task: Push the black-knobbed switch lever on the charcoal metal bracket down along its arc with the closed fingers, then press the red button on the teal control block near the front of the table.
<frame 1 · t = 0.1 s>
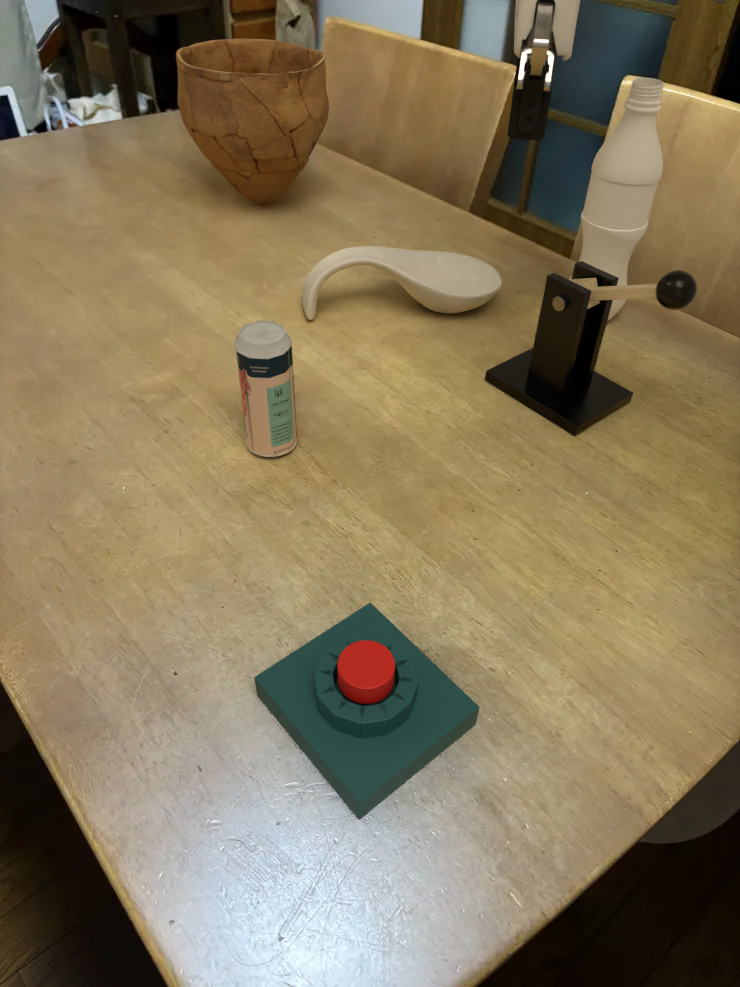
hand: (526, 121, 70), 23 cm above the table, tool pointing down, fingers open, 9 cm apart
water bottle: (590, 313, 90), on the table
beer can: (272, 446, 71), on the table
button: (366, 671, 47), point 4 cm above the table, slide at 0.1 cm
button block: (364, 709, 50), on the table
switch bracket: (556, 391, 78), on the table
switch lever: (625, 292, 66), point 13 cm above the table, hinge at 25.0°
spoon rest: (402, 307, 90), on the table
bowl: (261, 203, 112), on the table
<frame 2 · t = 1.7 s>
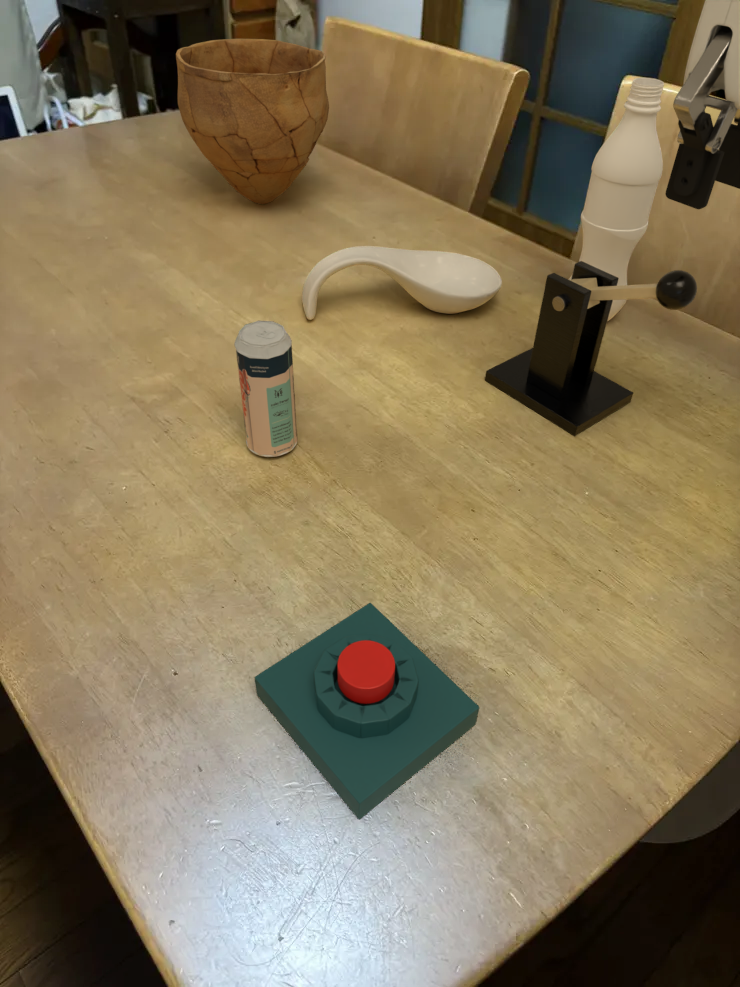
hand: (708, 190, 57), 23 cm above the table, tool pointing down, fingers open, 5 cm apart
nothing on the table moved.
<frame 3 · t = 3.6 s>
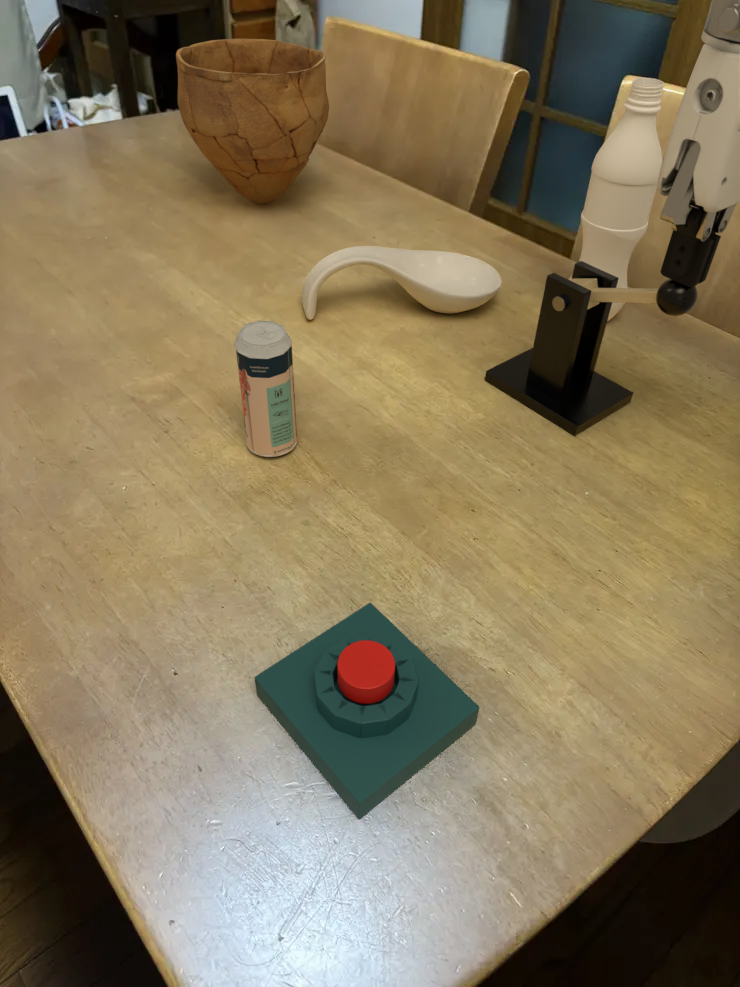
hand: (681, 278, 62), 16 cm above the table, tool pointing down, fingers closed
switch lever: (625, 295, 66), point 13 cm above the table, hinge at 21.9°, touching gripper
everything else where it was.
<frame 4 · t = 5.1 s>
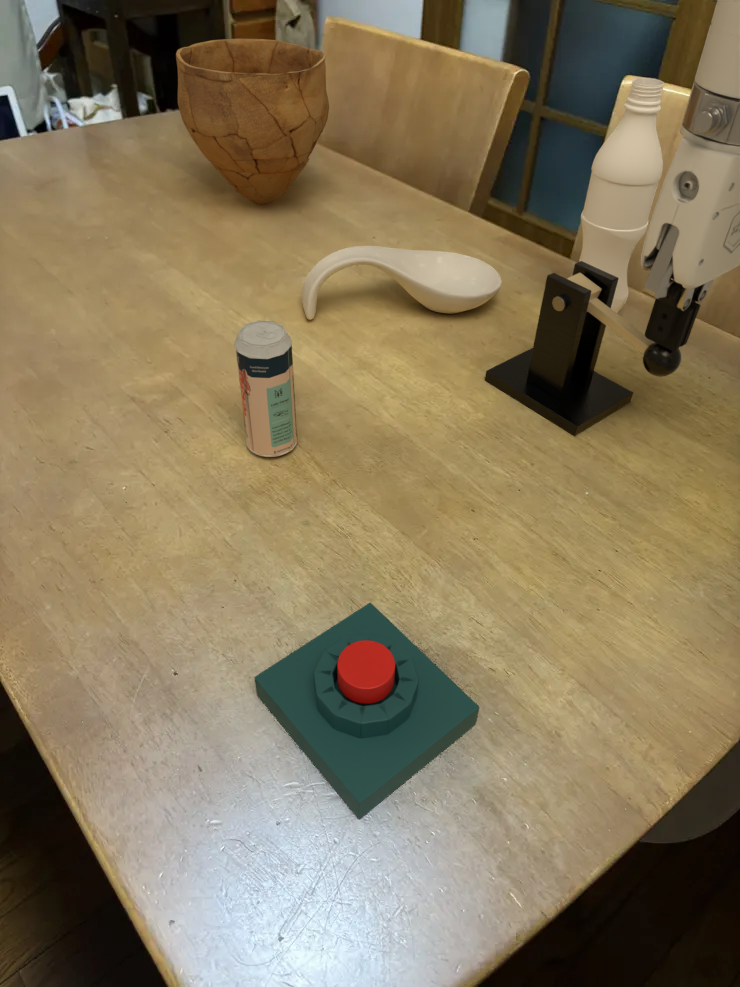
hand: (664, 341, 65), 11 cm above the table, tool pointing down, fingers closed
switch lever: (620, 326, 68), point 10 cm above the table, hinge at -11.9°, touching gripper
everything else where it was.
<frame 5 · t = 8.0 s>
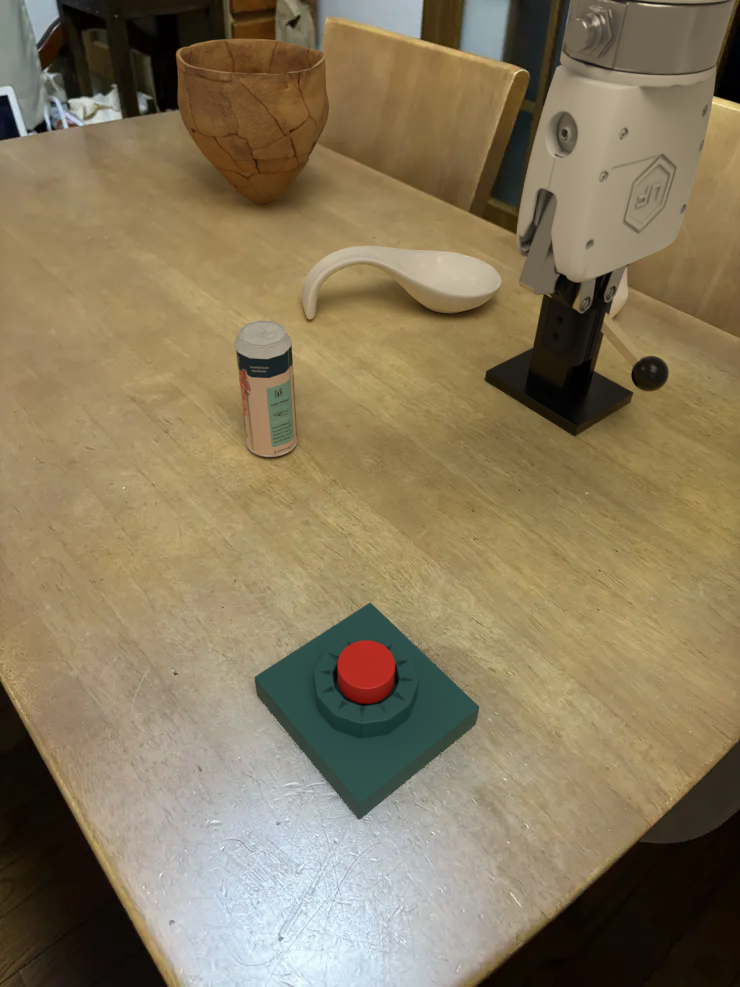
hand: (566, 353, 49), 18 cm above the table, tool pointing down, fingers closed
switch lever: (614, 334, 69), point 9 cm above the table, hinge at -23.7°
everything else where it was.
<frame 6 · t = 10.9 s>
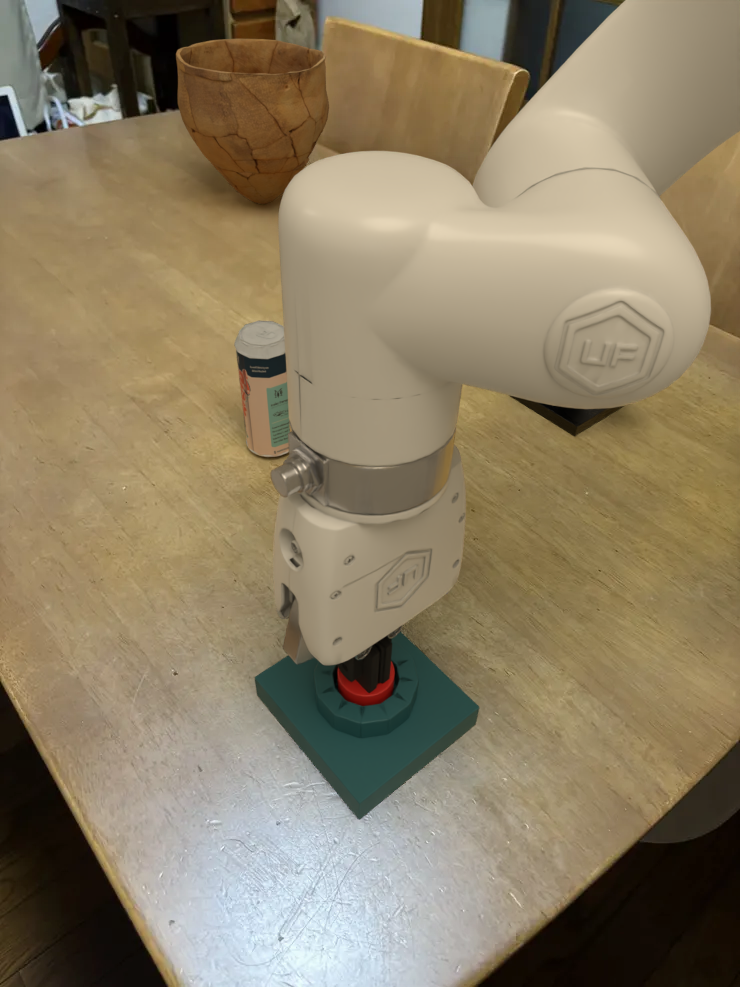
hand: (363, 670, 47), 5 cm above the table, tool pointing down, fingers closed
button: (365, 678, 48), point 4 cm above the table, slide at -0.7 cm, touching gripper
everything else where it was.
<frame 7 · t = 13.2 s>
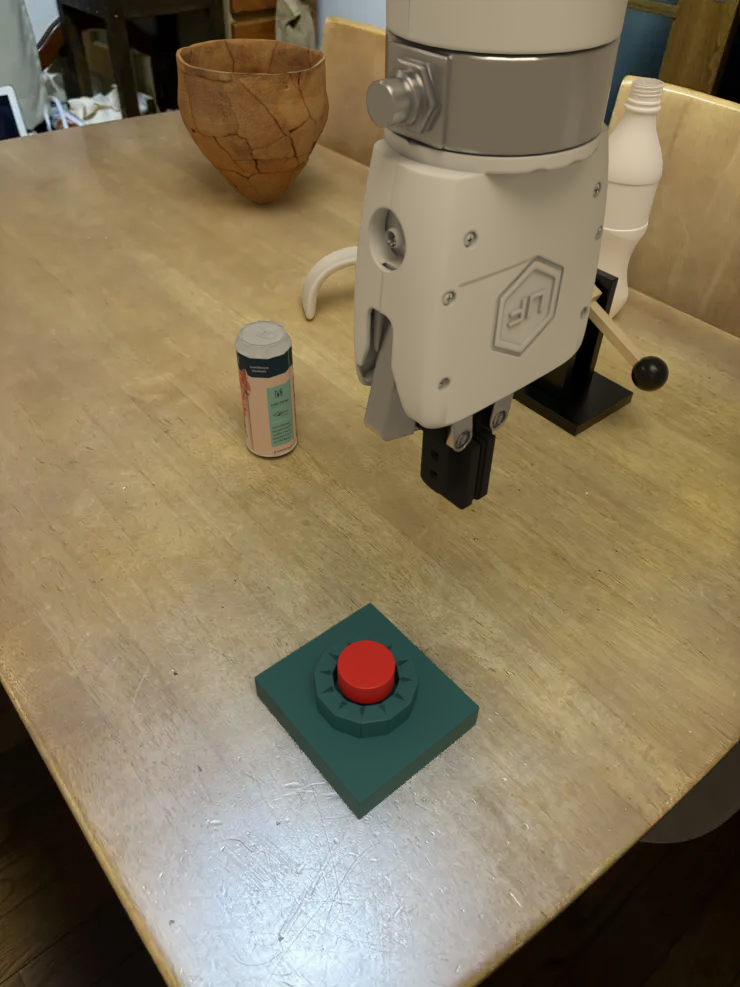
hand: (452, 488, 38), 19 cm above the table, tool pointing down, fingers closed
button: (366, 671, 47), point 4 cm above the table, slide at 0.1 cm
everything else where it was.
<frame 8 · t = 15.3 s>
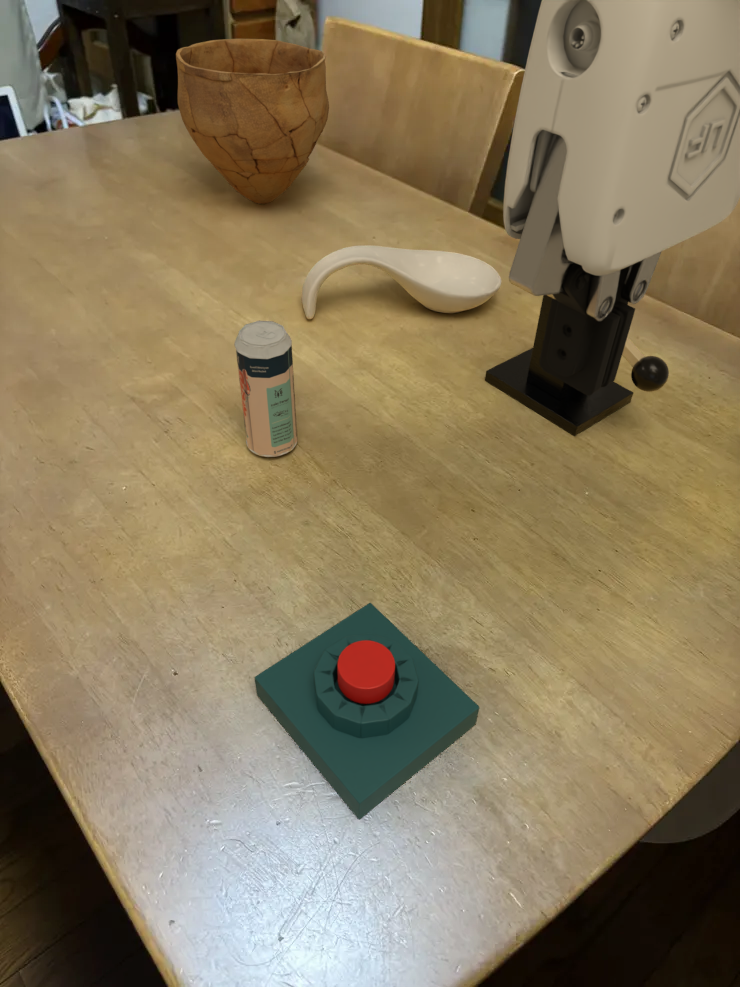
hand: (575, 375, 35), 25 cm above the table, tool pointing down, fingers closed
nothing on the table moved.
at the end: switch lever at -24° (first picture: +25°); button pushed in 1.1 cm at the most during the clip, back to where it started at the end; button slide at 0.1 cm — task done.
